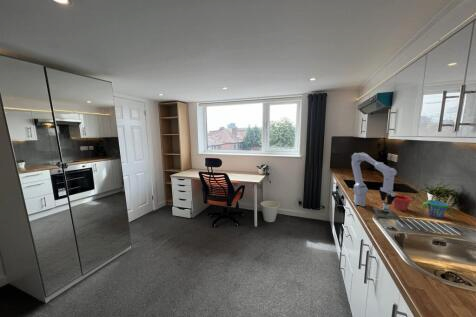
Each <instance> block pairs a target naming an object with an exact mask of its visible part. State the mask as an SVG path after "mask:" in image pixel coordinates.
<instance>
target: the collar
mask: <svg viewBox="0 0 476 317" xmlns="http://www.w3.org/2000/svg"><path fill="white" fill-rule="evenodd" d="M373 211H374V212H373ZM372 212H373V213H374V214H375V215H376V216H377V217H378V218H384V219H394V220H399V218H400V216H399V215H398V214H397V213H395V212H394V211H393V210H392V209H389V212H383V211H382V208H377V207H372Z"/></svg>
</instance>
